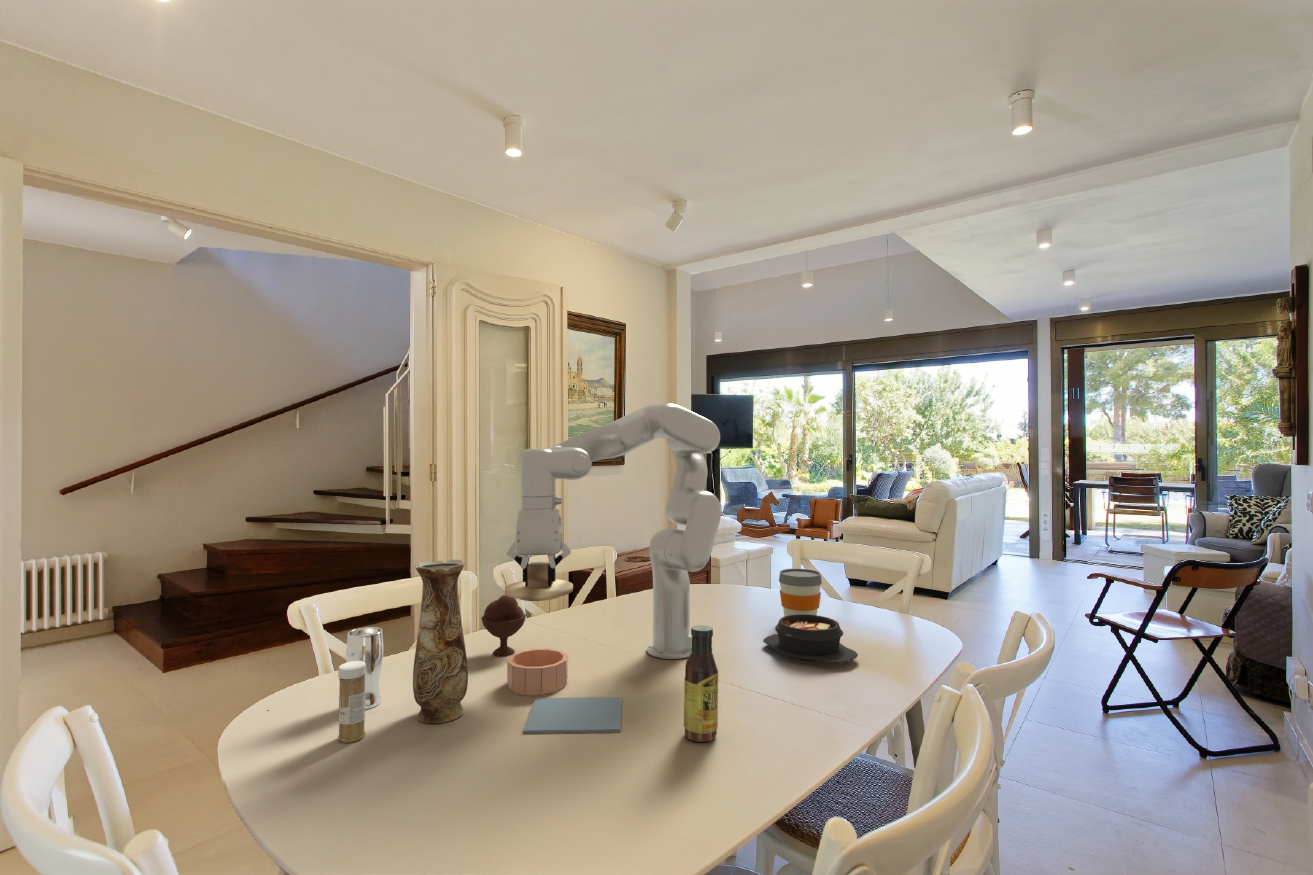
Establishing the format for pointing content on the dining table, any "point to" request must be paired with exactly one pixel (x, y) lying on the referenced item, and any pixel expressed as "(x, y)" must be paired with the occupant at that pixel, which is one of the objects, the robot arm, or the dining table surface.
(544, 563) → the lid
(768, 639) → the casserole
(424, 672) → the vase
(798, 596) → the reusable coffee cup
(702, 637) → the sauce bottle
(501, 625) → the ice cream bowl
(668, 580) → the robot arm
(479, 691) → the dining table surface
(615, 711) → the mat
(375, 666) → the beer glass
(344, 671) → the sprinkles bottle
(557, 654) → the bowl
